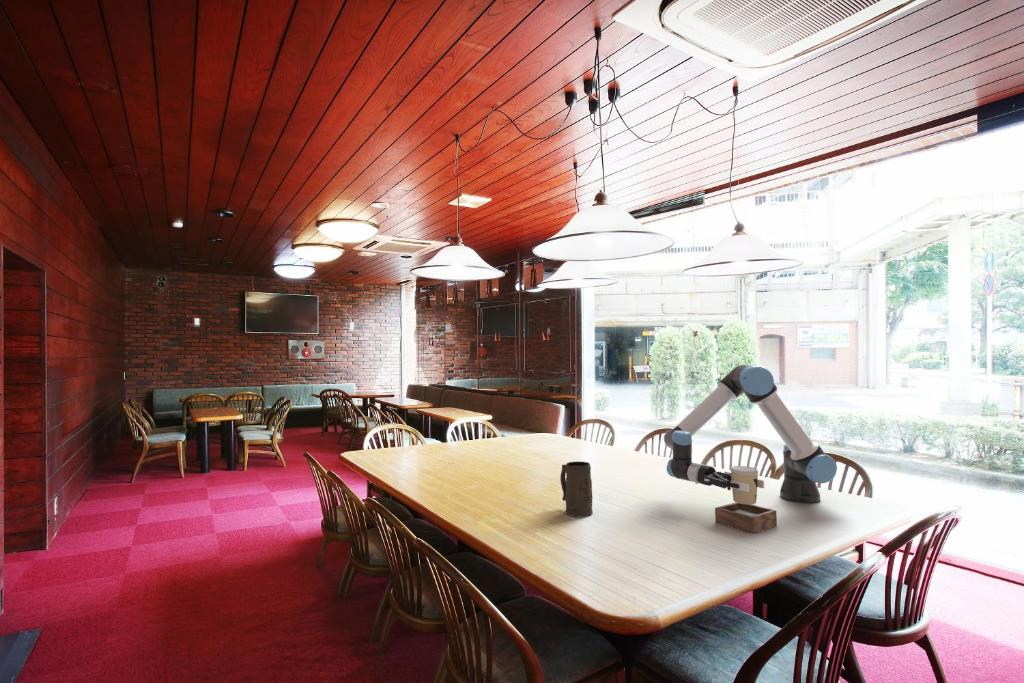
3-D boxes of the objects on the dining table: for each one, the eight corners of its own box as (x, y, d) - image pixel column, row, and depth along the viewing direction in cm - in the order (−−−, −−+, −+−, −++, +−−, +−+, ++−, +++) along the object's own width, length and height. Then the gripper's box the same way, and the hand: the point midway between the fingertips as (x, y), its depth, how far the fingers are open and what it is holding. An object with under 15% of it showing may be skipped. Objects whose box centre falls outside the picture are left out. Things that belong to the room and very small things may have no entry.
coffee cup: (761, 505, 187) (761, 471, 187) (733, 504, 188) (733, 470, 189) (755, 498, 196) (754, 466, 196) (728, 497, 198) (728, 465, 198)
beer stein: (599, 512, 208) (596, 461, 209) (583, 519, 200) (580, 466, 201) (568, 508, 218) (565, 459, 220) (552, 514, 210) (549, 463, 212)
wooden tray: (739, 515, 202) (739, 501, 202) (776, 525, 190) (776, 510, 190) (715, 522, 194) (715, 507, 194) (752, 534, 182) (752, 517, 182)
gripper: (719, 480, 213) (773, 492, 194) (684, 487, 201) (738, 501, 182) (719, 461, 213) (772, 471, 194) (684, 468, 201) (738, 479, 183)
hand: (756, 486), depth 188 cm, fingers closed on coffee cup, 9 cm apart
